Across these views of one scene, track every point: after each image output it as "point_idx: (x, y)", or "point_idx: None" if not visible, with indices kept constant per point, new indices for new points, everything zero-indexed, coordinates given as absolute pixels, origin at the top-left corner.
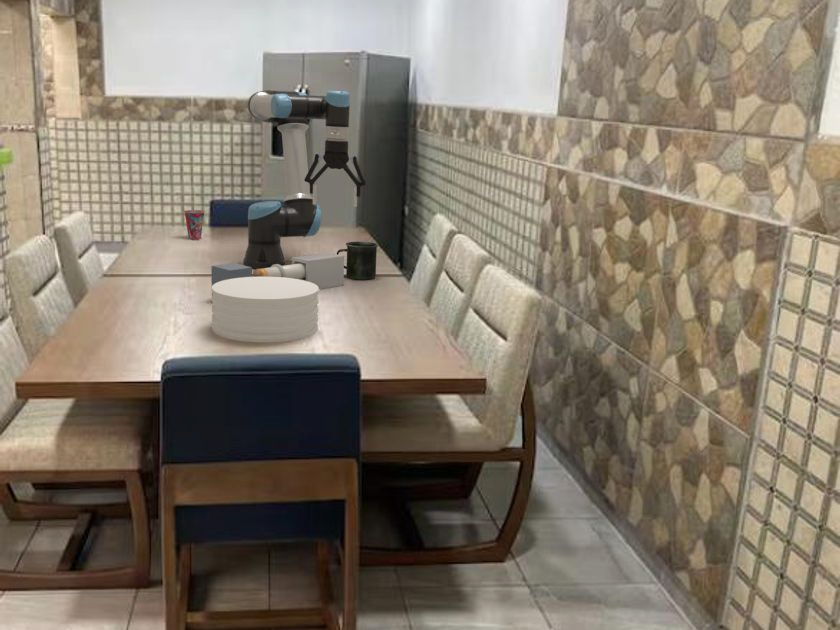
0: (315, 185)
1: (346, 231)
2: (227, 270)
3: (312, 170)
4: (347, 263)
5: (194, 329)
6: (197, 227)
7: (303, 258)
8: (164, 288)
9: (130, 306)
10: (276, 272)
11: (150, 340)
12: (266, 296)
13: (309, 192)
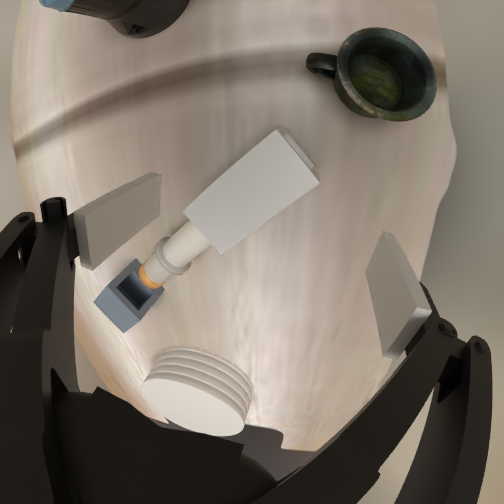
0: (95, 262)
1: None
2: (120, 328)
3: (10, 320)
4: (337, 84)
5: (149, 368)
6: None
7: (208, 226)
8: None
9: (74, 293)
10: (172, 274)
11: (135, 380)
12: (199, 429)
13: None
